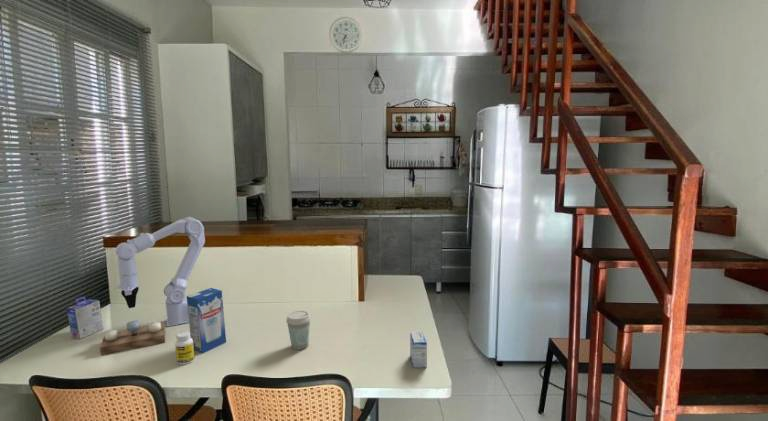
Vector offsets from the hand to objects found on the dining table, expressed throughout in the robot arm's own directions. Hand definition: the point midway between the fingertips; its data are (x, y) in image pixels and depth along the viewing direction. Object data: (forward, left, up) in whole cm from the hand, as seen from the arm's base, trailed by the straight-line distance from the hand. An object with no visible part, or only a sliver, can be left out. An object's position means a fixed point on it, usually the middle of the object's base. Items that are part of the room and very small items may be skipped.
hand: (132, 307), depth 164 cm
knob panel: (-1, +10, -10) cm, 14 cm away
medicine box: (-86, +74, -11) cm, 114 cm away
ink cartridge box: (+17, -9, -11) cm, 22 cm away
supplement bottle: (-17, +35, -11) cm, 40 cm away
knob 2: (-8, +10, -9) cm, 16 cm away
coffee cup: (-54, +44, -11) cm, 71 cm away
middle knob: (-1, +10, -7) cm, 12 cm away
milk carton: (-25, +27, -11) cm, 38 cm away
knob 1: (+6, +10, -9) cm, 15 cm away
